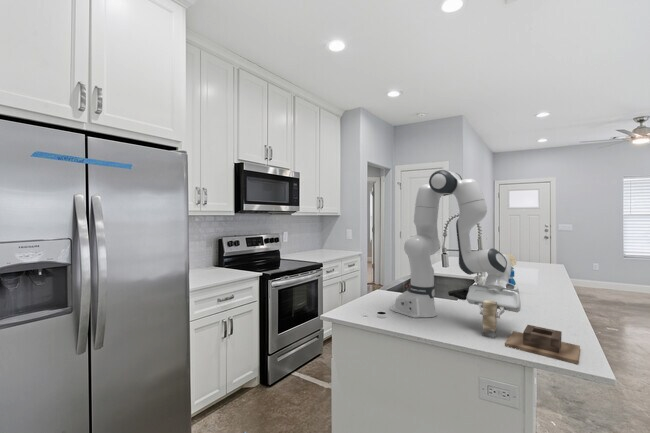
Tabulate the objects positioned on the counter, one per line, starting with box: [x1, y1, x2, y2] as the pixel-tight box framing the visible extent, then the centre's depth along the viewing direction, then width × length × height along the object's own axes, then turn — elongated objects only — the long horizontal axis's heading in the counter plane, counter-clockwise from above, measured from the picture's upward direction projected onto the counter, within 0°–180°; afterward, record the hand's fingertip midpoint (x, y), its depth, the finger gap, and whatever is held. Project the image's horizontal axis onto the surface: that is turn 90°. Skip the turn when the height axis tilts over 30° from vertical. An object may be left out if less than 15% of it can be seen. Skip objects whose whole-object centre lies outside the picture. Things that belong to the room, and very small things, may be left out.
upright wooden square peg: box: [481, 300, 498, 339], centre depth 133 cm, size 4×4×14 cm
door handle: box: [447, 287, 469, 301], centre depth 194 cm, size 3×20×16 cm
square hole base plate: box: [504, 324, 581, 365], centre depth 123 cm, size 22×16×6 cm
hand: (489, 315), depth 133 cm, fingers closed on upright wooden square peg, 4 cm apart
